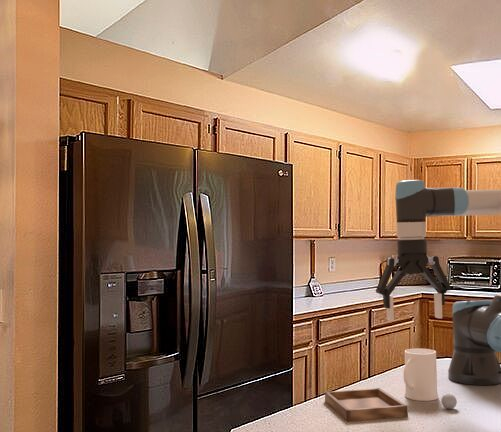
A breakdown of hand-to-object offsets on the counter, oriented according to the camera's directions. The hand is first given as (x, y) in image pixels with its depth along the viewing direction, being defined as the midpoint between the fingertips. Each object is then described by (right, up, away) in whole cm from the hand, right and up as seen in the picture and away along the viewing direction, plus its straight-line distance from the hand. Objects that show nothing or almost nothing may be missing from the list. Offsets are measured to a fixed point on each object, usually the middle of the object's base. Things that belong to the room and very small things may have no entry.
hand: (414, 319), depth 160 cm
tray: (-15, -21, -10) cm, 27 cm away
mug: (+1, -21, -1) cm, 21 cm away
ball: (+5, -20, -11) cm, 23 cm away
